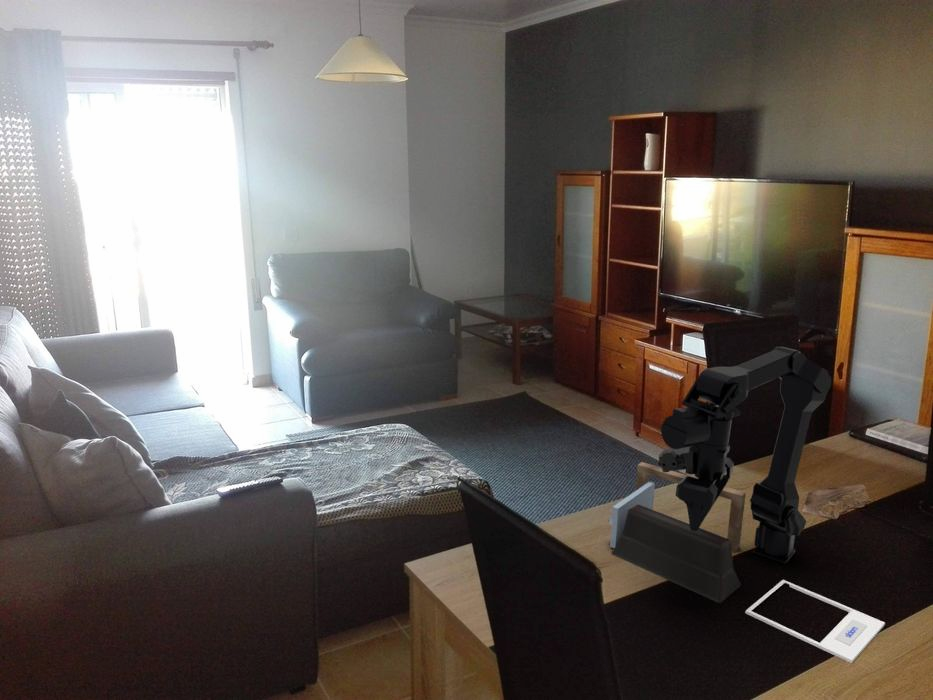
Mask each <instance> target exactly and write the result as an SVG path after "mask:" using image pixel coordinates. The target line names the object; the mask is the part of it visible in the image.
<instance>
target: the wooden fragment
mask: <svg viewBox="0 0 933 700" xmlns="http://www.w3.org/2000/svg"><path fill="white" fill-rule="evenodd" d="M870 498H871V497H870V496H869V494H868V492H867V488H866V486H865V485H864V484H856V485H855V484H854V485H847V486H840V487H829V488H824V489H819V490H812V491H810V492H808V494H807V497H806V499H805V502H804V505H803V507H802V510H801V514H803V515H805V514H806V515H807V516H808V515H809V516H812V517H817V518H825V519H833V520H837V519H838V518H839V517H840V516H841V515H842V513H845V512H848V510H850V509H859V508H864V507H865V505H866V504H867V503H868V502H871V501H872V500H871V499H870Z"/></svg>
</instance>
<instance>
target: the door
mask: <svg viewBox="0 0 933 700" xmlns="http://www.w3.org/2000/svg"><path fill="white" fill-rule="evenodd" d="M655 485H656V482H655V481H652V480H649V482H648V483H646V484H645V485H644V486H642V487H641V488H639V489H638V490H636V489H635V491H634V492H632V493H631V494H629V495H628V496H626V497H625V498H623V499H622V500H621V501H619V502H617V503H616V504H614V505H613V506H612V512H611V514H612V515H611V516H610V517H609V518H608V522H607V523H608V525H611V527H610V528H611V529H610V543H609V545H610V548H611V549H614V548H615V547H616V545H617V543H618V541H619V539H620V538H621V536H622V533H623V529H624V525H625V521H626V517H627V513H628V509H630V508H632V507H634V506H635V505H638V504H639V505H641V506H644V507H646V508H649V509H652V510H654V501H655V499H654V498H655V487H656V486H655Z"/></svg>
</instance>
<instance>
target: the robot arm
mask: <svg viewBox="0 0 933 700" xmlns="http://www.w3.org/2000/svg"><path fill="white" fill-rule="evenodd" d="M778 378H779V379H780V380H781V381H780V386H779V387H780V388H779V393H780V395H781V399H782V402H783V404H784V408H783V409H784V410H783V413H782V415H781V416H782V417H781V420H780V425H779V429H778V433H777V437H776V440H775V441H776V442H775V445H774V450H773V454H772V457H771V461H770V466H769V470H768V473H767V476H766V477H765V478H764V479H763V480H761V481H760V482H756V483H754V485H753V487H752V494H751V497H750V499H749V502H750V504H749V505H750V510H751V514H752V515H751V516H752V520H754V521H757V522H759V523H758V524H759V525H758V526H756V528H755V533H754V534H755V535H754V542H753V545H754V547H755V548H754V549H753V551H752V552H753V553H754V554H756V555H759V556H762V557H763V558H767V559H770V560H773V561H774V562H775V561H776V562H778V563H782V564H787V562H789V560H790V559H791V558H792V557H793V555H795V553H796V549H795V548H794V547H795V546H794V544H795V539H796V537H797V536H798V537H799V536H801V532H803V531H804V529H805V526H806V524H807V520H806V518H805V517H804V516H803V515H802V512H800V511H799V504H800V503H799V502H800V495H799V493H798V489H797V487H796V483H795V481H796V477H797V473H798V469H799V465H800V462H801V458H802V453H803V450H804V446H805V445H804V444H805V441H806V438H807V433H808V430H809V426H810V422H811V419H812V414H813V412H814V411H815V410H816V409H817V408H818V407H820V405H822V403H824V402H825V400H826V398H827V394H828V392H829V390H830V388H831V386H832V377H831V375H829V371H828V370H827V369H826V368H823V367H821V366H820V365H819V364H816V363H815V362H813V361H812V360H811V359H809V358H808V357H806V356H805V354H803V352H801V351H800V350H797V349H793V348H789V347H785V346H776V347H774V348H773V349H772V350H771V351H768V352H766V353H764V354H761V355H759V356H756V357H755V358H752V359H749V360H747V361H744V362H742V363H740V364H737V365H735V366H733V365H732V366H714V367H709V368H705V369H704V370H702V371H701V372H700V373H699V375H698V376H697V378H696V380H695V381H694V382H693V384H692V386H691V388H690V389H689V391H688V392H687V394H686V396H685V397H684V399H683V400H682V402H681V406H683V408H681V407H677V408H673V410H672V414H671V415H669V416H667V417H666V418H665V419H664V420H663V422H662V424H661V425H660V426H661V428H660V433H661V438H662V440H663V442H664V443H665V445H666V446H668V447H669V448H666V449H664V450H662V452H660V454H659V455H658V463H657V465H658V467H661V468H662V471H663V472H669V471H674V472H676V471H682V470H685V471H684V472H685V474H686V475H688V476H687V477H685V478H684V479H682V480H681V481H680V482H679V484H678V483H677V484H676V489H675V490H676V491H675V497H676V498H678V499H679V500H680V501H683V503H684V504H685V505H686V509H687V515H688V522H689V523H688V524H690V529H691V530H692V531H697V530H698V529H699V528H701V526H702V524H703V522H704V520H705V519H706V517H707V515H708V514H709V513H710V512H711V510H712V507H714V504H715V503H716V502H717V500H718V499H719V497H720V496H719V495H720V493H721V492H722V490H723V489H724V487H726V485H727V484H728V482H729V480H730V478H731V476H732V474H733V472H734V467H735V466H734V465H735V463H734V462H733V461H732V459H731V458H730V457H727V455H728V453H730V448H731V445H729V444H730V443H729V442H730V435H731V430H732V422H733V417H738V416H740V415H741V411H740V410H739V409H738V408H737V407H736V406H738V405H740V403H742V402H743V401H746V399H747V397H748V395H749V392H750V391H751V390H753V389H755V388H758V387H760V386H763V385H764V384H767V383H768V382H771V381H773V380H776V379H778ZM705 401H706V402H705ZM710 403H711V404H710ZM713 404H714V405H713ZM693 475H694V476H693ZM690 476H691V477H690Z"/></svg>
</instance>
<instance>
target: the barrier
mask: <svg viewBox="0 0 933 700" xmlns="http://www.w3.org/2000/svg"><path fill="white" fill-rule="evenodd" d="M611 555H612V556H614V557H617V558H618V559H621V560H623V561H626V562H627V563H630V564H632V565H634V566H636V567H639V568H641V569H643V570H646V571H648V572H649V573H651V574H654V575H656V576H658V577H660V578H663V579H664V580H668V581H670V582H672V583H673V584H676V585H677V586H678V585H679V586H681V587H682V588H685V589H687V590H689V591H692V592H694V593H696V594H698V595H700V596H703V597H705V598H707V599H709V600H711V601H713V602H716V603H719V604H722V603H723V602H724V600H726V599H728V597H730V596H731V595H732V594H733V593H734V592H735V591H737V590H738V589H739V588H740V587H741V586H742V583H741V581H740V580H739V577H738V576H737V573H736V571H735V569H734V562H733V559H734V558H733V551H732V546H731V541H730V540H729V539H727V537H724V536H722V535H719V534H716V533H714V532H711V531H708V530H705V529H703V528H701V527H699V529H698V530H697V531H692V530H691V529H690V523H688V522H685V521H682V520H680V519H677V518H675V517H672V516H669V515H667V514H666V513H665V514H664V513H661V512H659V511H657V510H655V509H653V510H652V509H649V508H646V507H644V506H641V505H639V504H638V505H635V506H634V507H632V508H630V509H628V513H627V517H626V521H625V525H624V529H623V533H622V536H621V538H620V539H619V541H618V543H617V545H616V547H615V548H613V550H612V551H611Z"/></svg>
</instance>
